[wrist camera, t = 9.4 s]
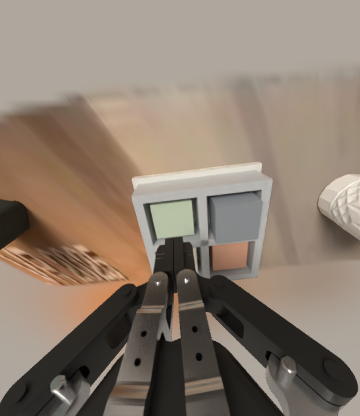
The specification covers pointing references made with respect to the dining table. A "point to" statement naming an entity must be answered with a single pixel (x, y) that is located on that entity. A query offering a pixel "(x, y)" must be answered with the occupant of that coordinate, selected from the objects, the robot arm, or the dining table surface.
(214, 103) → the dining table surface
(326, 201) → the white cup
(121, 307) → the robot arm
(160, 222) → the key sage
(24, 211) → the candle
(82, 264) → the dining table surface
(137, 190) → the keypad
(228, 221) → the key slate
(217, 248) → the key terracotta
